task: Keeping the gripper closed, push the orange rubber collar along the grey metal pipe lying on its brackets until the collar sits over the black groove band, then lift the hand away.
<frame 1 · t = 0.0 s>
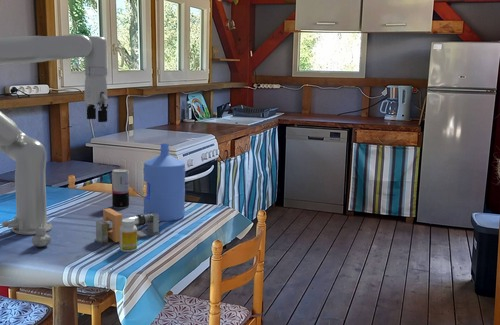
hand: (96, 120, 189), 37 cm above the table, tool pointing down, fingers open, 9 cm apart
collar: (112, 224, 172), point 5 cm above the table, slide at 0.0 cm
supplement bottle: (128, 250, 165), on the table
water jug: (164, 216, 202), on the table
pipe rig: (128, 237, 177), on the table
beverage can: (120, 207, 213), on the table
rubber duck: (41, 247, 165), on the table
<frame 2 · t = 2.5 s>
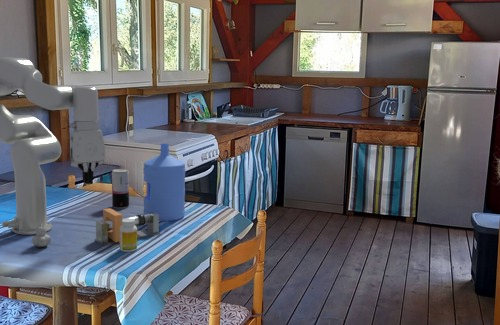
hand: (88, 183, 169), 19 cm above the table, tool pointing down, fingers closed
nothing on the table moved.
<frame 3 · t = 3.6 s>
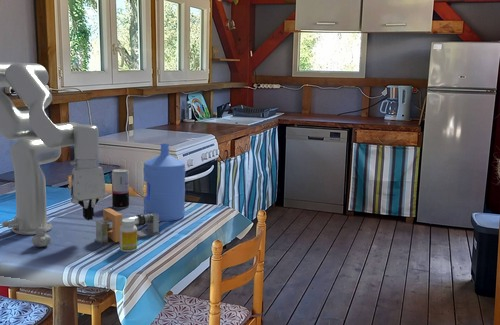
hand: (88, 218, 171), 7 cm above the table, tool pointing down, fingers closed
nothing on the table moved.
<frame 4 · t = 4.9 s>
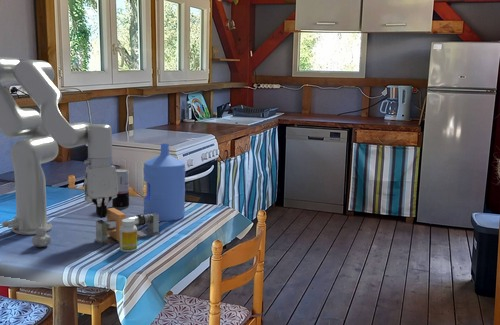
hand: (101, 216, 174), 7 cm above the table, tool pointing down, fingers closed
collar: (116, 224, 173), point 5 cm above the table, slide at 1.3 cm, touching gripper
everything else where it was.
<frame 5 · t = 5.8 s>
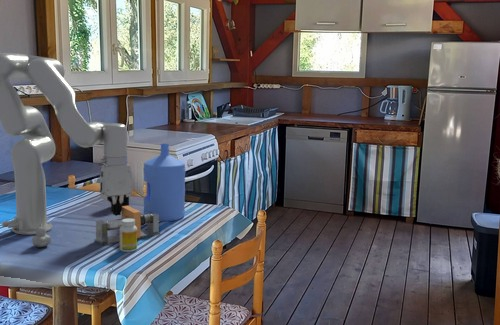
hand: (116, 214, 177), 7 cm above the table, tool pointing down, fingers closed
collar: (130, 221, 176), point 5 cm above the table, slide at 6.5 cm, touching gripper
everything else where it was.
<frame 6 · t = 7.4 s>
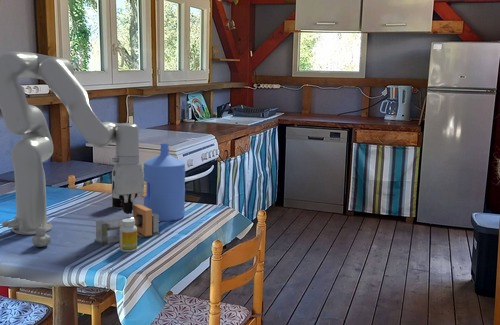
hand: (127, 212, 180), 7 cm above the table, tool pointing down, fingers closed
collar: (142, 219, 179), point 5 cm above the table, slide at 10.8 cm, touching gripper
everything else where it was.
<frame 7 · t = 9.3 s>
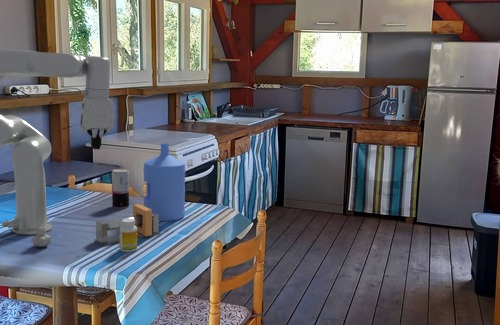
hand: (95, 148, 178), 29 cm above the table, tool pointing down, fingers closed
collar: (142, 219, 179), point 5 cm above the table, slide at 10.8 cm
everything else where it was.
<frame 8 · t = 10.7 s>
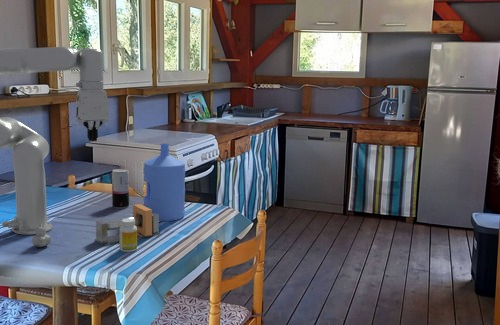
hand: (92, 140, 179), 31 cm above the table, tool pointing down, fingers closed
nothing on the table moved.
at the end: collar slide at 10.8 cm; the gripper is holding nothing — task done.
